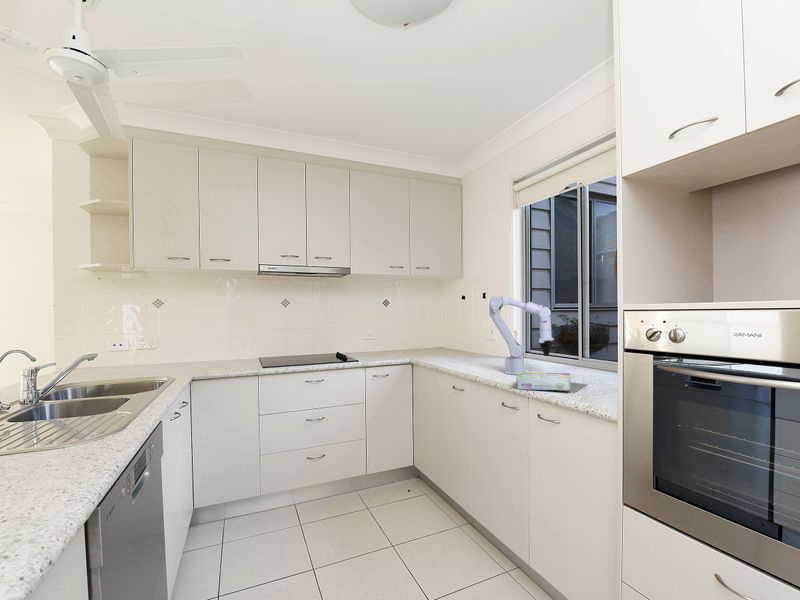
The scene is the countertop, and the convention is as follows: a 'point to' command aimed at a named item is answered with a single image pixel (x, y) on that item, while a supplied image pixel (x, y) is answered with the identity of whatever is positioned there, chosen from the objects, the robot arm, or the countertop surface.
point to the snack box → (544, 381)
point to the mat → (574, 387)
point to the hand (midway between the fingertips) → (546, 355)
